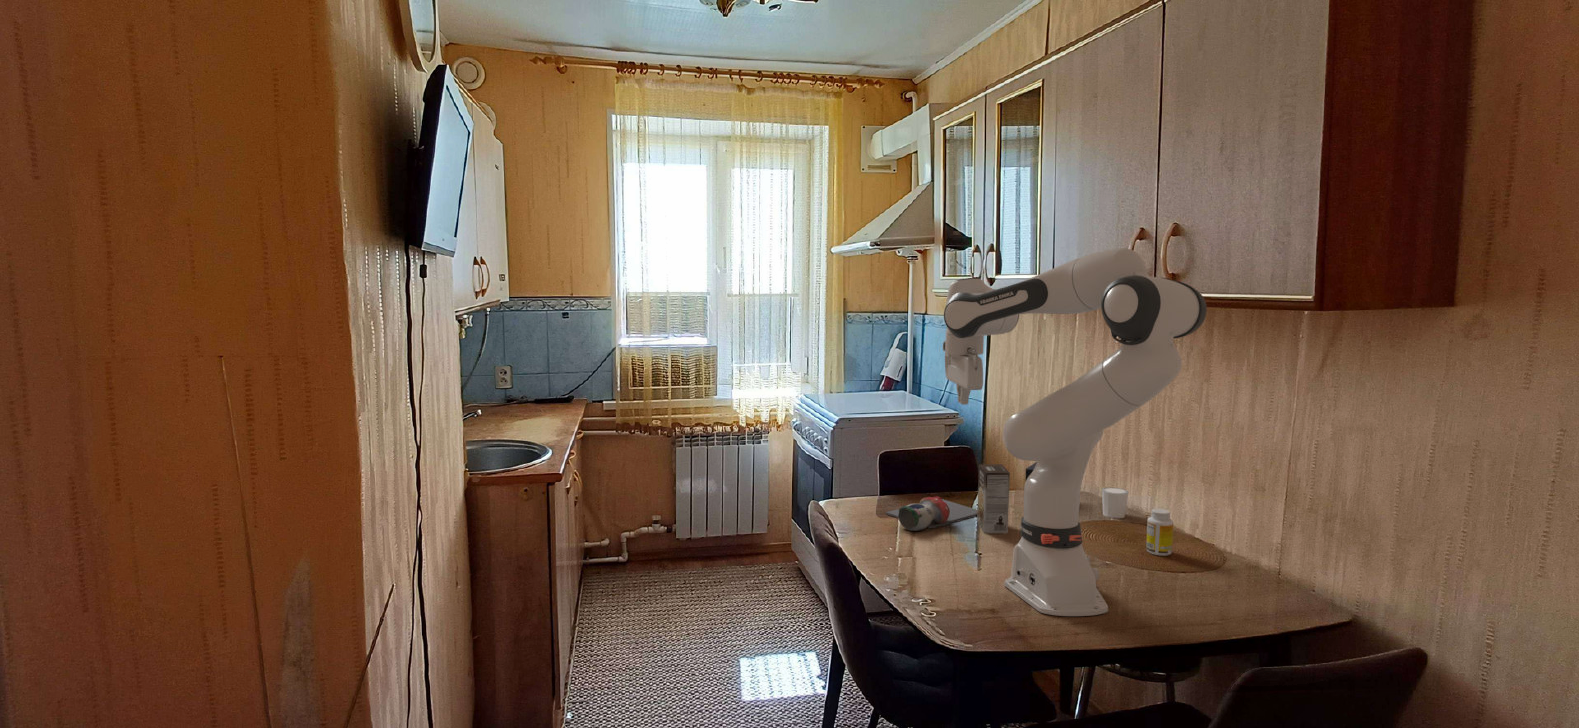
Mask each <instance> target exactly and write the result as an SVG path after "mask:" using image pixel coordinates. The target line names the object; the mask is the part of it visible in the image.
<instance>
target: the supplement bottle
mask: <svg viewBox="0 0 1579 728" xmlns="http://www.w3.org/2000/svg"><path fill="white" fill-rule="evenodd" d="M1146 525H1147V527H1146V547H1145V548H1146V551H1147V552H1148V553H1149V554H1152V555H1153V556H1162V557H1163V556H1164V557H1165V556H1166V557H1167V556H1169V555H1171V554H1172V553H1173V539H1174V538H1173V537H1174V520H1173V519H1171V512H1170V511H1169V510H1167V509H1164V508H1153V509H1151V516H1149V517H1148V518H1147V522H1146Z"/></svg>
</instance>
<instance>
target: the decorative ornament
mask: <svg viewBox="0 0 1579 728" xmlns="http://www.w3.org/2000/svg"><path fill="white" fill-rule="evenodd" d="M942 499H943V498H942V497H940V496H933V497H932V496H927V497H923V498H922V499H920V501H919V503H910V504H908V505H902V506H901V507H900V508H898V509H899V514H898V518H899V519H898V518H897V519H898V521H899V522H900V524H901V526H902V527H903V528H904V529H906V530H908V531H921V530H923V529H927V528H926V527H927V526H928V525H929V524H930V523H931V521H932V522H936V523H944V522H945V521H946V520H947V519H948V517H949V513H950V510H949V507H948V505H947V504H946V503H945V502H944V501H942Z"/></svg>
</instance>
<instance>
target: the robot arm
mask: <svg viewBox="0 0 1579 728" xmlns="http://www.w3.org/2000/svg"><path fill="white" fill-rule="evenodd" d="M1207 307H1208V305H1207V302H1206V300H1205V297H1204V296H1203V295H1202V293H1201V292H1200V291H1198V290H1197V289H1196V288H1194V287H1193V286H1190V285H1189V284H1188V283H1185V282H1182V281H1178V280H1174V279H1171V278H1170V279H1169V278H1166V277H1156V276H1151V275H1149V273H1148V270H1147V266H1146V264H1145V261H1144V259H1143V258H1142V257H1141V255H1139V253H1137V252H1136V251H1135V250H1133V249H1129V248H1125V247H1124V248H1123V247H1122V248H1121V247H1120V248H1114V249H1108V250H1102V251H1098V252H1093V253H1090V254H1088V255H1085V256H1081V257H1078V258H1075V259H1073V260H1070V261H1067V262H1066V263H1063V264H1060V265H1058V266H1056V267H1054V268H1052V269H1049V270H1047V271H1045V272H1042V273H1040V274H1037V275H1035V276H1033V277H1029V278H1028V279H1025V280H1023V281H1021V282H1017V283H1014V284H1011V285H1007V286H1003V287H1000V288H997V289H994V288H992V287H990V286H988V285H987V284H986V283H985V282H984V281H983V279H982V278H979V277H968V278H960V279H956V280H954V281H953V282H951V283H950V285H949V287H948V291H947V296H946V305H945V307H944V311H943V319H944V323H945V326H946V331H945V340H944V341H943V343H942V351H944V367H945V368H944V369H945V370H944V371H945V377H946V380H948V381H950V382H952V383H954V384H955V385H956V393H957V402H958V403H959V404H961V405H962V406H963V405H968V404H969V399H970V398H969V397H970V395H971V391H981V390H982V389H983V386H984V368H983V367H984V366H983V365H984V364H983V363H984V362H983V360H982V357H980V356H981V355H983V354H984V339H985V336H996V335H1004V334H1006V333H1007V334H1008V333H1010V332H1012V331H1013V330H1014V329H1015V328H1016V326H1017V324H1018V323H1019V319H1020V315H1025V314H1026V315H1028V314H1043V315H1045V314H1047V315H1074V314H1075V315H1076V314H1083V313H1090V312H1093V311H1098V310H1101V314H1102V318H1103V320H1104V321H1105V324H1106V325H1107V327H1108V328H1109V329H1110V333H1111V337H1112V338H1113V340H1115V341H1116V342H1118V343H1119V344H1121V345H1120V346H1119V348H1118V349H1116V350H1115V351H1114V352H1113V353H1111V354H1110V355H1108V356H1107V357H1106V358H1104V359H1103V360H1102V361H1100V362H1099V363H1097V364H1096V365H1095V366H1094V367H1092V368H1091V369H1090V370H1088V371H1087V372H1085V373H1084V374H1083V375H1081V376H1080V377H1078V378H1076V379H1075V380H1074V381H1072V382H1070V383H1069V384H1067V385H1066V386H1063V387H1061V388H1059V389H1057V390H1055V391H1054V392H1052V393H1051V394H1049V395H1047V396H1045V397H1044V398H1042V399H1040V400H1038V401H1036V402H1035V403H1033V404H1032V405H1030V406H1028V407H1027V408H1025V409H1022V410H1020V411H1019V412H1017V413H1015V414H1013V415H1011V416H1010V417H1009V418H1007V420H1006V421H1005V424H1004V425H1003V429H1002V437H1003V438H1002V439H1003V443H1004V445H1005V448H1006V449H1007V451H1008V452H1009V453H1010V455H1012V456H1013V458H1016V459H1018V460H1021V461H1029V462H1037V464H1036V466H1035V468H1034V470H1033V472H1032V473H1031V474H1030V476H1029V477H1028V478H1027V480H1026V482H1025V481H1024V482H1025V483H1024V488H1023V490H1024V492H1023V494H1024V495H1023V516H1022V517H1021V520H1020V524H1019V525H1020V536H1021V538H1020V539H1019V541H1018V543H1016V544H1015V546H1014V547H1013V550H1012V551H1013V553H1012V560H1011V561H1012V563H1011V571H1010V577H1008V578H1005V579H1004V583H1003V585H1004V587H1006V588H1008V590H1010V591H1011V592H1012V593H1014V594H1015V595H1017V596H1018V597H1019V598H1020V599H1022V600H1023V601H1024V602H1025V603H1027V604H1029V605H1030V606H1031V608H1034V609H1035V610H1036V611H1038V612H1039V613H1042V614H1046V615H1051V616H1059V617H1060V616H1061V617H1085V616H1086V617H1087V616H1088V617H1089V616H1097V615H1101V614H1106V613H1108V612H1109V606H1108V604H1107V603H1106V601H1105V599H1104V598H1103V596H1102V594H1101V593H1100V591H1099V589H1098V588H1097V583H1096V582H1097V580H1099V579H1100V570H1099V568H1097V567H1096V568H1095V567H1092V566H1091V557H1090V556H1089V555H1087V554H1086V551H1085V549H1084V547H1083V545H1082V544H1083V536H1082V535H1083V533H1082V529H1081V528H1082V527H1081V522H1080V521H1079V518H1080V517H1079V516H1080V501H1081V500H1080V499H1081V490H1082V484H1083V480H1084V475H1085V473H1086V470H1087V466H1088V463H1089V460H1090V457H1091V455H1092V453H1093V450H1094V448H1095V447H1096V445H1097V444H1098V443H1099V442H1100V440H1101V439H1102V438H1103V435H1104V432H1105V431H1104V430H1105V429H1107V428H1110V427H1112V426H1114V425H1115V424H1117V423H1118V422H1120V421H1122V420H1123V419H1124V418H1126V417H1127V416H1129V415H1130V414H1132V413H1133V412H1135V411H1136V410H1138V409H1139V408H1141V407H1142V406H1144V405H1145V404H1147V403H1148V402H1150V401H1151V400H1153V399H1154V398H1155V397H1156V396H1158V395H1159V394H1160V393H1162V392H1163V391H1164V390H1165V389H1166V388H1167V387H1168V386H1169V385H1170V384H1171V383H1172V382H1173V381H1174V380H1175V379H1176V377H1178V375H1179V374H1180V372H1181V370H1182V356H1180V352H1179V351H1178V349H1177V348H1176V347H1175V343H1174V339H1178V338H1179V339H1180V338H1183V337H1187V336H1189V335H1191V334H1193V333H1195V332H1196V331H1197V330H1198V329H1200V327H1201V326H1202V325H1203V324H1204V321H1205V319H1206V317H1207V309H1208V308H1207ZM979 355H980V356H979Z"/></svg>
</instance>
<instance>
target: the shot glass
mask: <svg viewBox="0 0 1579 728" xmlns="http://www.w3.org/2000/svg"><path fill="white" fill-rule="evenodd" d="M1101 499H1102V500H1101V501H1102V515H1103V516H1105V517H1107V518H1112V519H1123V518H1125V517H1126V513H1127V506H1128V505H1127V504H1128V499H1129V491H1128V490H1127V489H1124V488H1123V489H1122V488H1119V487H1103V488H1101Z"/></svg>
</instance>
